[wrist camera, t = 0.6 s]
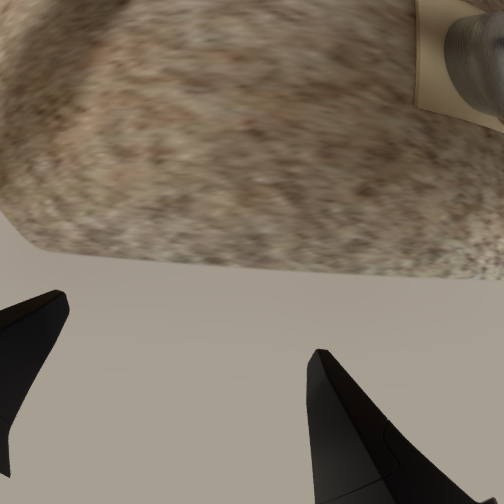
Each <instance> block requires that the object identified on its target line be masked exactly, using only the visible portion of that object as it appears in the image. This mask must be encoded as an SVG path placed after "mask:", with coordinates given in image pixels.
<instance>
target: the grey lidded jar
mask: <svg viewBox="0 0 504 504" xmlns="http://www.w3.org/2000/svg"><path fill="white" fill-rule="evenodd" d="M444 57H445V63H446V67H447V71H448V74H449V77H450V79H451V81H452V83H453V85H454V87H455V89H456V90H457V92H458V93H459V95H460V96H461V97H462V99H463V100H464V101H465V102H466V103H467V104H468V105H469V106H471V107H472V108H473V109H475V110H477V111H478V112H481V113H483V114H487V115H490V116H493V117H496V118H500V119H503V120H504V10H503V11H496V12H489V13H483V14H478V15H472V16H467V17H463V18H460V19H458V20H456V21H455V22H454V23H452V25H451V26H450V27H449V29H448V31H447V33H446V36H445V41H444Z"/></svg>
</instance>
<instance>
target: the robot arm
mask: <svg viewBox="0 0 504 504" xmlns="http://www.w3.org/2000/svg"><path fill="white" fill-rule="evenodd" d="M68 315H69V304H68V301H67V297H66V294H65V293H64V292H62V291H60V290H53V291H50V292H47V293H45V294H42V295H40V296H37V297H34V298H31V299H29V300H26V301H23V302H21V303H18V304H16V305H13V306H10V307H8V308H5V309H3V310H0V473H1V474H3V475H5V476H7V477H9V478H10V475H11V473H10V462H9V445H8V435H9V431H10V428H11V425H12V424H13V421H14V419H15V417H16V414H17V413H18V411H19V409H20V407H21V405H22V402H23V401H24V399H25V397H26V395H27V393H28V391H29V389H30V387H31V385H32V383H33V381H34V380H35V378H36V376H37V374H38V372H39V371H40V369H41V367H42V365H43V363H44V362H45V360H46V358H47V356H48V355H49V353H50V351H51V350H52V348H53V346H54V344H55V342H56V340H57V338H58V336H59V334H60V332H61V330H62V328H63V326H64V323H65V321H66V319H67V317H68ZM306 394H307V395H306V396H307V397H306V406H307V415H308V425H309V436H310V447H311V458H312V469H313V482H314V495H315V504H498V503H497V501H496V499H495V498H494V497H492V498H490V499H487V500H485V501H483V502H481V503H478V502H476V501H474V500H473V499H472V498H470V497H469V496H468V495H467V494H466V493H465V492H464V491H463V490H461V489H460V488H459V487H458V486H457V485H456V484H455V483H454V482H452V481H451V480H450V479H449V478H448V477H447V476H446V475H445V474H444V473H443V472H441V471H440V470H439V469H438V468H437V467H436V466H435V465H434V464H433V463H432V462H430V461H429V460H428V459H427V458H426V457H425V456H424V455H423V454H422V453H421V452H420V451H418V450H417V449H416V448H415V447H414V446H413V445H412V444H411V443H410V442H409V441H408V440H407V439H406V438H405V437H404V436H403V435H402V434H401V433H400V432H399V430H398V429H397V428H396V427H395V426H394V425H393V424H392V423H391V422H390V420H387V417H386V416H385V415H384V414H383V413H382V412H381V411H380V409H379V408H378V407H377V406H376V405H375V404H374V403H373V401H372V400H371V399H370V398H369V397H368V396H367V395H366V393H365V392H364V391H363V390H362V389H361V388H360V386H359V385H358V384H357V383H356V382H355V381H354V380H353V378H352V377H351V376H350V375H349V374H348V373H347V371H346V370H345V369H344V368H343V367H342V366H341V365H340V363H339V362H338V361H337V360H336V359H335V358H334V357H333V355H332V354H331V353H330V352H329V351H328V350H324V349H316V350H315V352H314V354H313V355H312V357H311V359H310V361H309V362H308V366H307V393H306Z"/></svg>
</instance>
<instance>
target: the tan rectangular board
mask: <svg viewBox="0 0 504 504" xmlns="http://www.w3.org/2000/svg"><path fill="white" fill-rule="evenodd" d="M415 13H416V45H417V54H416V87H415V103H414V107H415V108H419V109H423V110H428V111H432V112H436V113H440V114H444V115H448V116H452V117H455V118H459V119H462V120H466V121H469V122H472V123H475V124H479V125H482V126H485V127H488V128H491V129H493V130H496V131H499V132H502V133H504V120H503V119H500V118H496V117H493V116H490V115H487V114H483V113H481V112H478V111H477V110H475V109H473V108H472V107H471V106H469V105H468V104H467V103H466V102H465V101H464V100H463V99H462V97H461V96H460V95H459V93H458V92H457V90H456V89H455V87H454V85H453V83H452V81H451V79H450V77H449V74H448V71H447V67H446V63H445V57H444V41H445V36H446V33H447V31H448V29H449V27H450V26H451V25H452V23H454V22H455V21H456V20H458V19H460V18H463V17H467V16H472V15H478V14H483V13H486V12H485V11H483V10H481V9H479V8H477V7H475V6H472V5H470V4H468V3H466V2H464V1H462V0H415Z"/></svg>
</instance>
